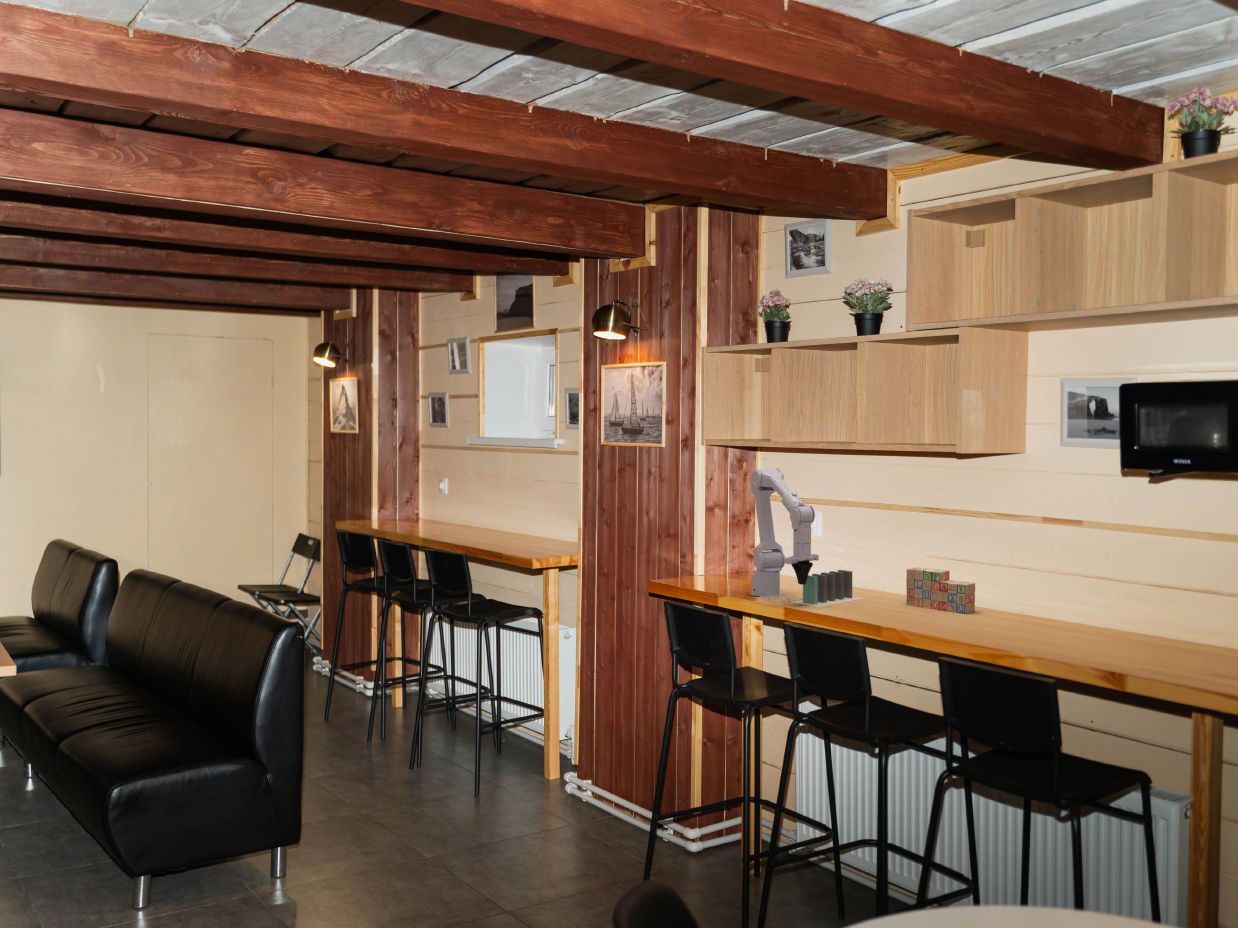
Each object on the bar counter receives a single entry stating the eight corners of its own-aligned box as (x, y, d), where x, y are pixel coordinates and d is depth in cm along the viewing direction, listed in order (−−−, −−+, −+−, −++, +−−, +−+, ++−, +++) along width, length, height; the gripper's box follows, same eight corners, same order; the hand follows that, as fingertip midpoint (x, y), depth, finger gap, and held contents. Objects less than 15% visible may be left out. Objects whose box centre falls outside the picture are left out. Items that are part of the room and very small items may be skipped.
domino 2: (823, 602, 352) (823, 575, 351) (811, 600, 355) (812, 574, 355) (826, 602, 353) (826, 575, 352) (815, 600, 356) (815, 573, 356)
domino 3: (832, 601, 354) (832, 574, 354) (820, 599, 358) (820, 572, 358) (835, 600, 355) (835, 573, 355) (823, 598, 359) (823, 572, 359)
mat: (789, 603, 353) (789, 601, 353) (837, 594, 369) (837, 593, 369) (818, 608, 344) (818, 606, 344) (865, 599, 360) (865, 598, 360)
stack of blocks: (975, 611, 337) (975, 573, 337) (965, 614, 333) (965, 575, 333) (916, 603, 353) (916, 566, 353) (905, 605, 349) (906, 568, 348)
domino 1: (814, 604, 349) (814, 577, 348) (802, 602, 353) (802, 575, 352) (817, 603, 350) (817, 576, 349) (806, 601, 354) (806, 574, 353)
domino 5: (849, 598, 360) (849, 571, 360) (837, 596, 364) (837, 570, 364) (852, 597, 361) (852, 571, 361) (840, 595, 365) (840, 569, 365)
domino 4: (840, 599, 357) (841, 573, 357) (829, 597, 361) (829, 571, 361) (843, 599, 358) (844, 572, 358) (832, 597, 362) (832, 570, 362)
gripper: (796, 545, 340) (796, 587, 340) (826, 542, 349) (825, 583, 350) (780, 543, 345) (780, 585, 346) (809, 540, 354) (809, 580, 355)
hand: (802, 584), depth 348 cm, fingers closed
